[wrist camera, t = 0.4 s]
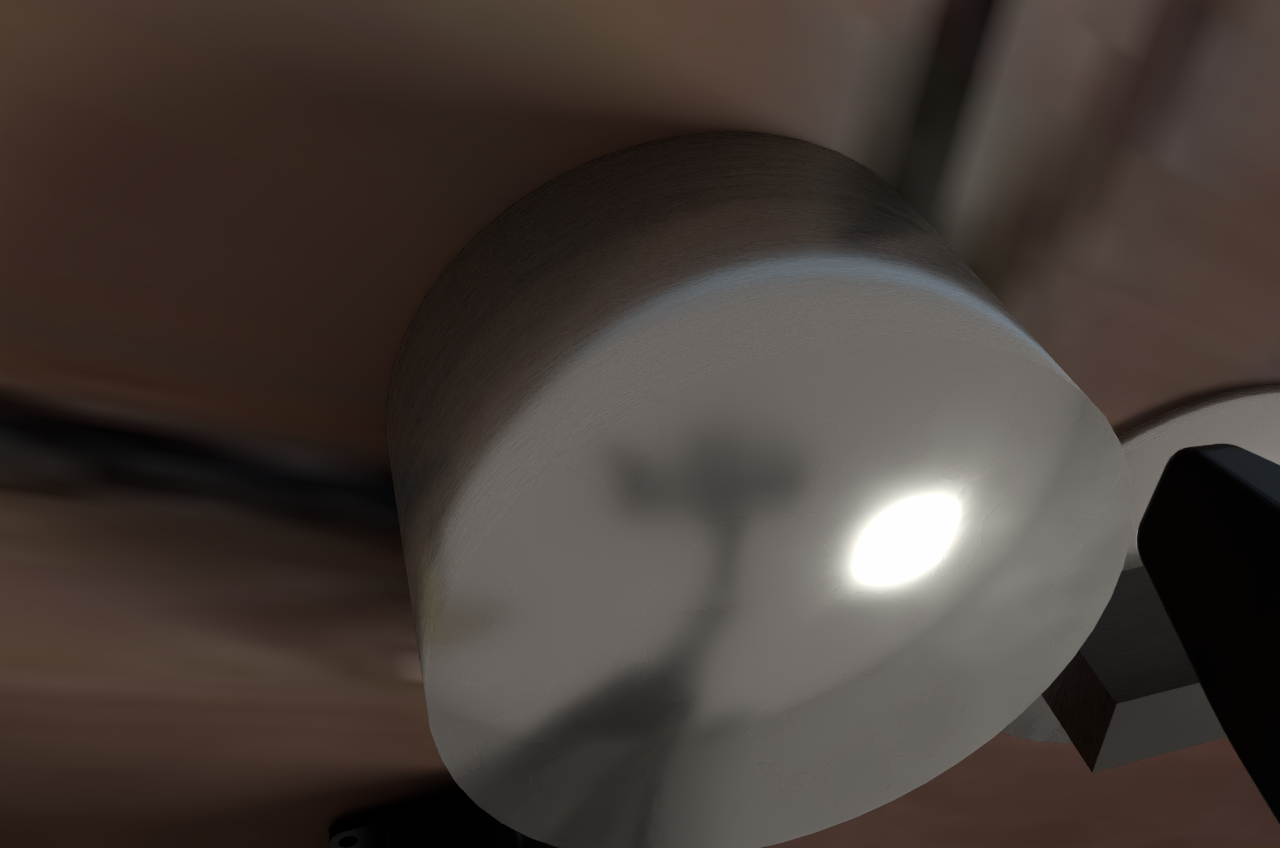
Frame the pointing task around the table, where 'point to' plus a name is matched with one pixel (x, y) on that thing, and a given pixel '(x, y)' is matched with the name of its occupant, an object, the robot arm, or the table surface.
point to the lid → (1147, 612)
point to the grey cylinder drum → (734, 501)
